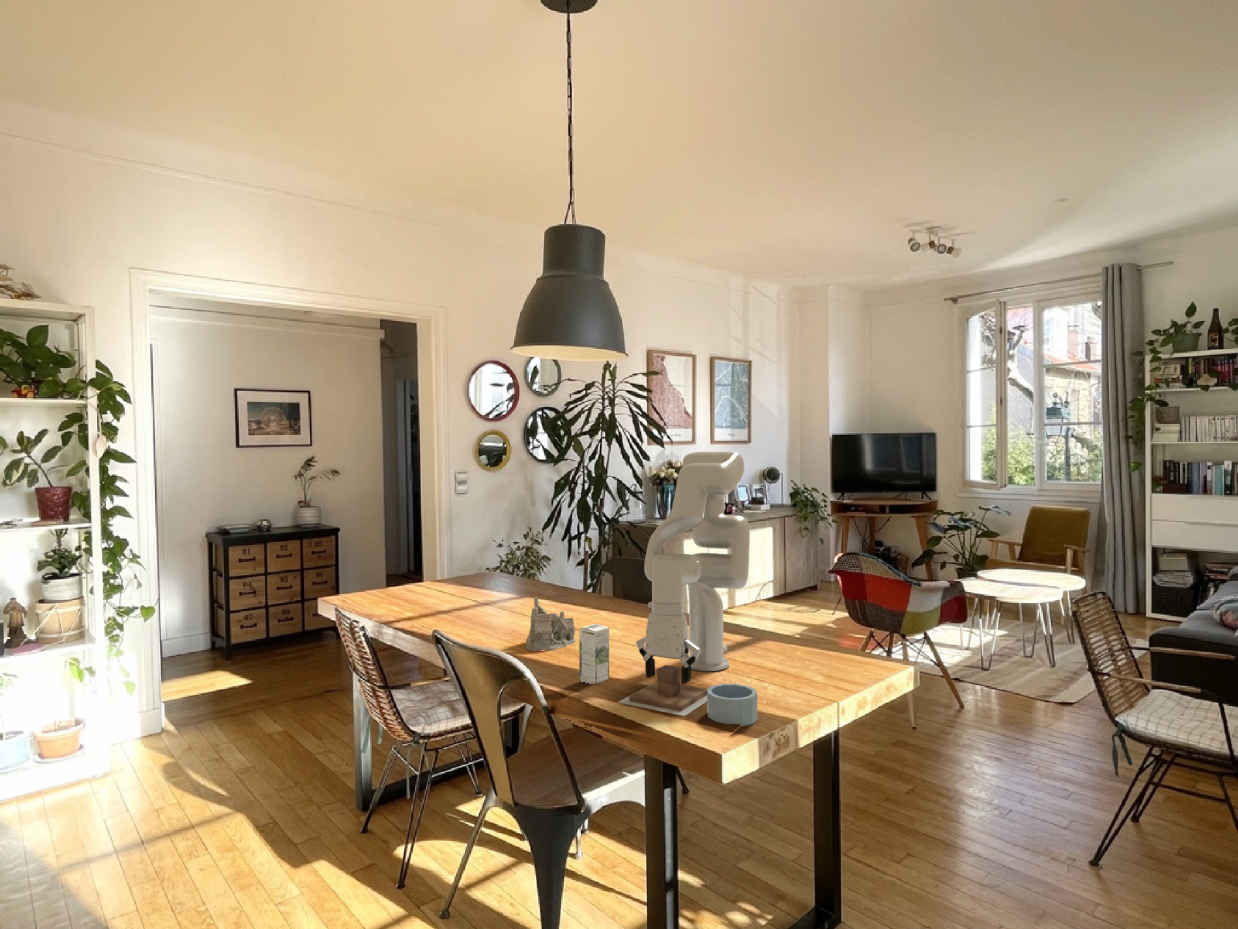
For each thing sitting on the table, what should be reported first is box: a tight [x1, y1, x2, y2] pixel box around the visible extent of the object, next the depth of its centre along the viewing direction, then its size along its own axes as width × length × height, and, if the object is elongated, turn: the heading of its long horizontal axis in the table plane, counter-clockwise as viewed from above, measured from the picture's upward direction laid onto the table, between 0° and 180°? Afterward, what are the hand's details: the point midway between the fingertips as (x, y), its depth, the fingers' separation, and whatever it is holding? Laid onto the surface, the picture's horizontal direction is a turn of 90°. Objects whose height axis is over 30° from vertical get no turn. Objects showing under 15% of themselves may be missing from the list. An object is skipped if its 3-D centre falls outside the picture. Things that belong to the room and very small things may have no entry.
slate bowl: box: [706, 683, 758, 728], centre depth 171 cm, size 11×11×6 cm
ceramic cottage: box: [525, 596, 576, 652], centre depth 236 cm, size 16×16×15 cm
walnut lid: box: [628, 664, 708, 712], centre depth 183 cm, size 14×14×7 cm
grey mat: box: [617, 681, 707, 717], centre depth 183 cm, size 18×18×1 cm
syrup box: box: [578, 623, 610, 685], centre depth 198 cm, size 6×6×14 cm
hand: (667, 679), depth 182 cm, fingers open, 9 cm apart
